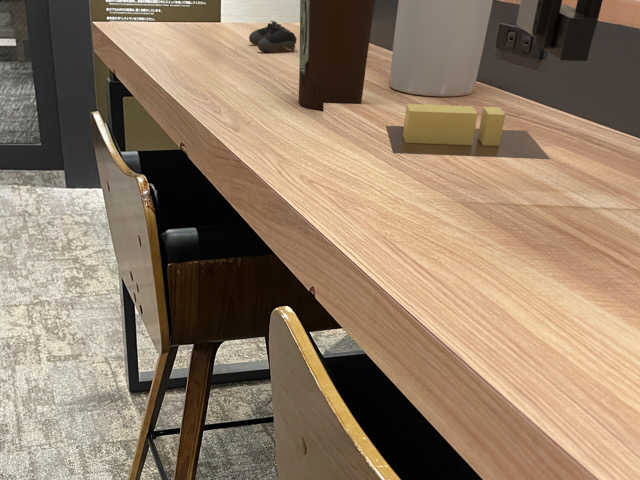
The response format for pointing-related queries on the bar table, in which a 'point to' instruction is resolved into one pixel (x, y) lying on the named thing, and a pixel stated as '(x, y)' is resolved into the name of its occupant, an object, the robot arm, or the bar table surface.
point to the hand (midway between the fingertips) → (560, 44)
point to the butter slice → (491, 126)
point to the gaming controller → (273, 38)
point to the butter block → (439, 124)
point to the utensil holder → (438, 46)
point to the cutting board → (472, 146)
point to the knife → (563, 31)
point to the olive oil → (333, 51)
